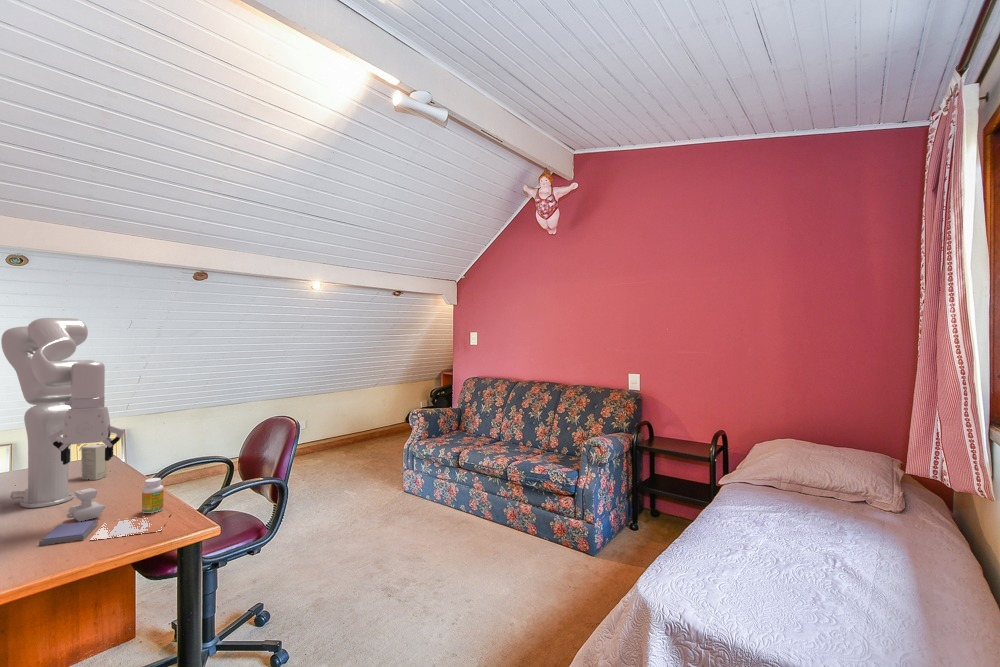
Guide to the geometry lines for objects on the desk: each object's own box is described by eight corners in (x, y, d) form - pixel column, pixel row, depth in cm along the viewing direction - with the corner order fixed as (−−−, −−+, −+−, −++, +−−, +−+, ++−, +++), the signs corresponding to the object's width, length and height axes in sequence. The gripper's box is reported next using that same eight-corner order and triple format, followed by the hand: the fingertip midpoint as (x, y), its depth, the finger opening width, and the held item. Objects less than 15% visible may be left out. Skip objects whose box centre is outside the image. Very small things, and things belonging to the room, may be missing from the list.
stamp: (70, 526, 135) (70, 497, 135) (62, 521, 139) (62, 492, 139) (109, 516, 143) (109, 488, 143) (101, 511, 146) (101, 484, 146)
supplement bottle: (151, 515, 145) (152, 483, 144) (137, 513, 146) (137, 481, 146) (167, 508, 150) (168, 477, 150) (153, 507, 151) (153, 476, 151)
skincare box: (106, 476, 180) (107, 444, 180) (95, 480, 175) (95, 447, 175) (91, 475, 181) (92, 443, 180) (80, 479, 176) (80, 446, 176)
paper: (89, 541, 126) (89, 540, 126) (106, 521, 139) (106, 520, 139) (161, 531, 133) (161, 530, 133) (171, 513, 146) (172, 513, 146)
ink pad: (39, 546, 123) (39, 540, 123) (57, 529, 133) (57, 524, 133) (83, 540, 127) (83, 534, 127) (98, 524, 137) (98, 519, 137)
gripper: (43, 407, 134) (43, 468, 134) (120, 403, 141) (120, 461, 141) (55, 403, 140) (54, 461, 140) (127, 400, 148) (127, 455, 148)
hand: (87, 461), depth 141 cm, fingers open, 9 cm apart
